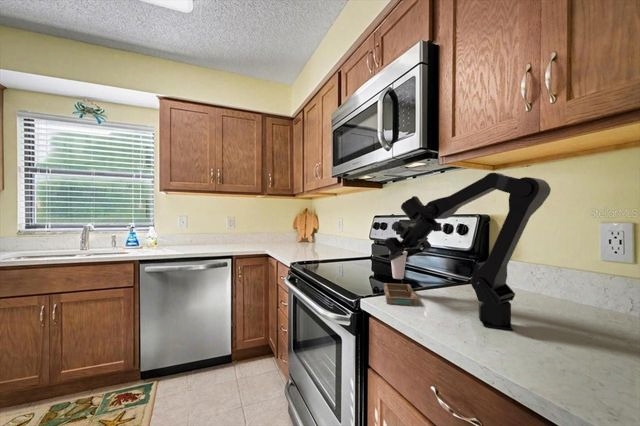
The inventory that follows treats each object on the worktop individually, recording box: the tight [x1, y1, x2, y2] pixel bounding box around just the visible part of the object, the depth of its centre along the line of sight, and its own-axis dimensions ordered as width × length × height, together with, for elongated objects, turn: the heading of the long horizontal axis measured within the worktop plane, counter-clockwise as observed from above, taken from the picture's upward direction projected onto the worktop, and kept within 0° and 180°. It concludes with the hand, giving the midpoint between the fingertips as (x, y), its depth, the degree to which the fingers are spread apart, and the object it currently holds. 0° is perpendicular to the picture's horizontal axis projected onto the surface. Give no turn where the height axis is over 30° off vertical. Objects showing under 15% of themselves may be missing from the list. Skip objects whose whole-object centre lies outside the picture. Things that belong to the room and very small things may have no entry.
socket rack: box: [383, 282, 419, 307], centre depth 98 cm, size 18×10×2 cm, turn 170°
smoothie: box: [388, 239, 407, 280], centre depth 102 cm, size 6×6×14 cm
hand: (395, 259), depth 103 cm, fingers closed on smoothie, 6 cm apart
